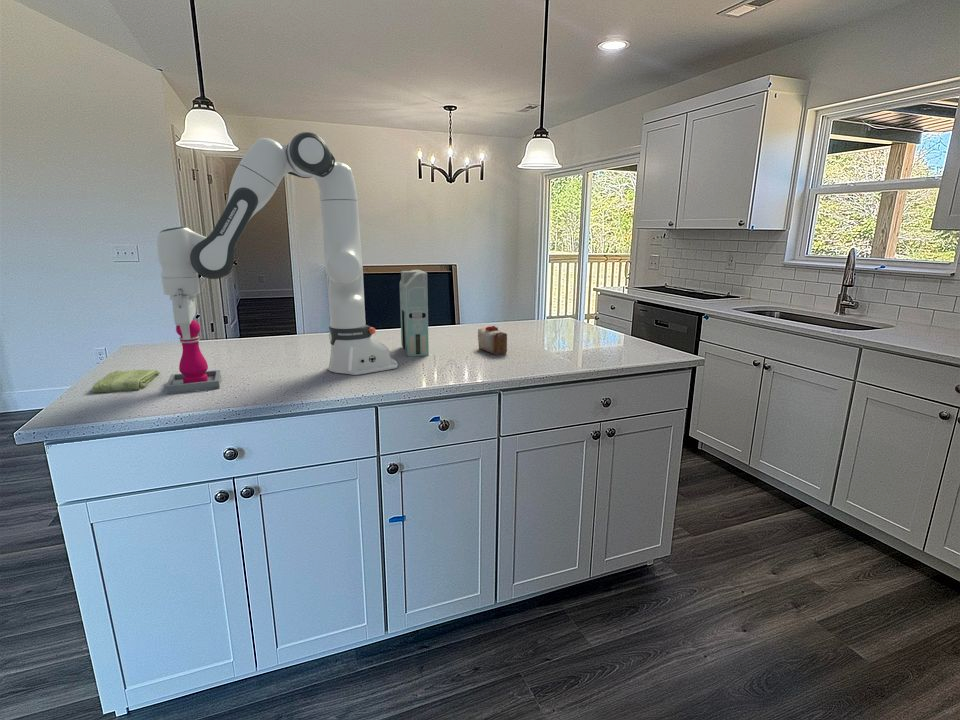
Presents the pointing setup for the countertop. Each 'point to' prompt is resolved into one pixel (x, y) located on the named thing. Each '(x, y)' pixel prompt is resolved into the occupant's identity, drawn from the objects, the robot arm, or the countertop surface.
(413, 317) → the device
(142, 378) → the washcloth
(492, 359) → the countertop surface
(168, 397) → the countertop surface
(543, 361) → the countertop surface
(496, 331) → the food item
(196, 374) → the pepper mill
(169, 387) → the slate tray
